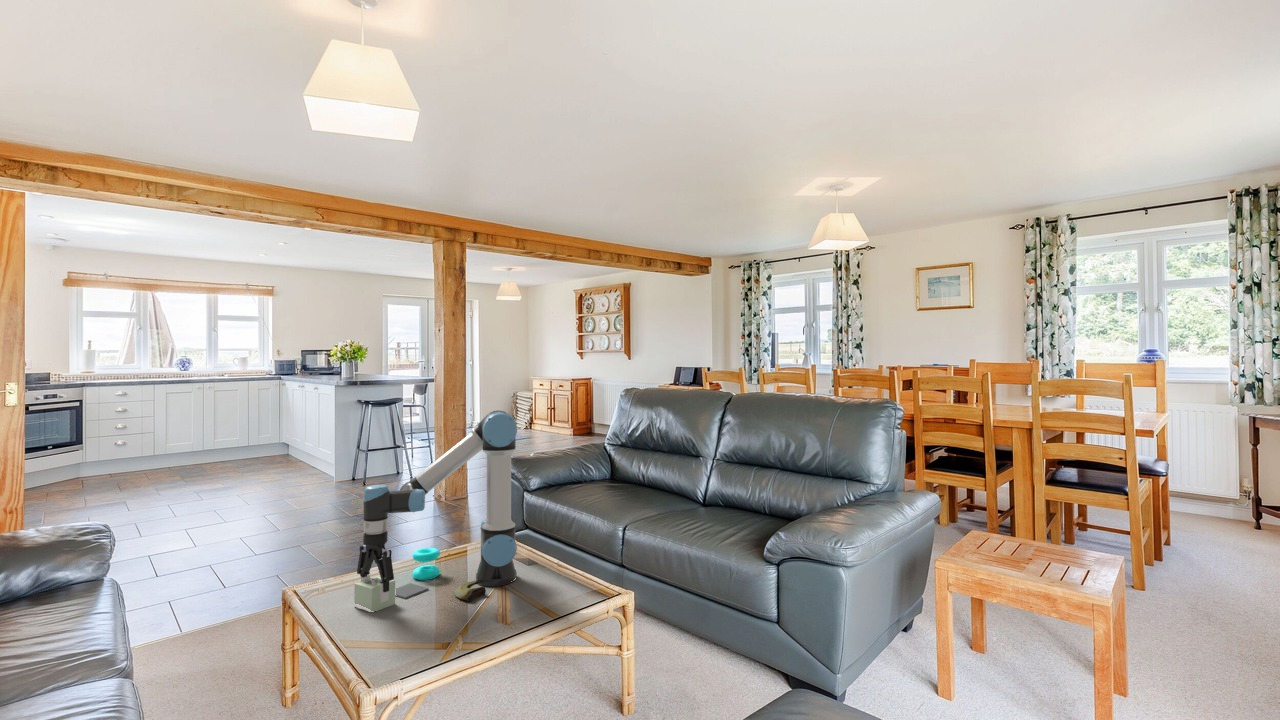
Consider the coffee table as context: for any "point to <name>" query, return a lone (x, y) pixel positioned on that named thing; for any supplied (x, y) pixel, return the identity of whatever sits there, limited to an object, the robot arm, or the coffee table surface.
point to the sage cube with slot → (373, 594)
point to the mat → (409, 590)
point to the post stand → (374, 581)
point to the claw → (469, 591)
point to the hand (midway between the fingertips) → (374, 598)
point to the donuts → (426, 570)
